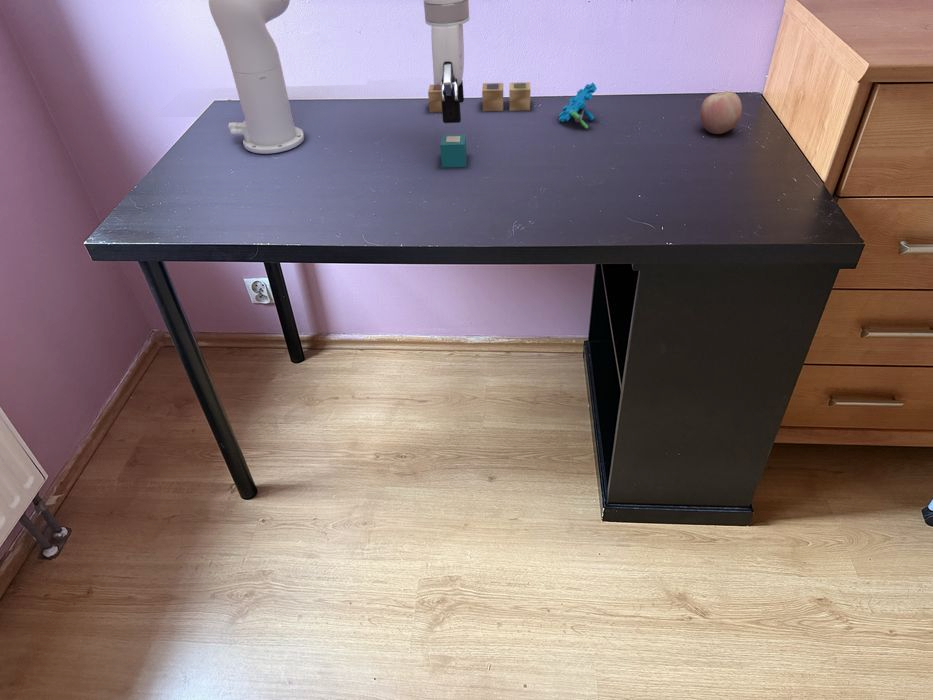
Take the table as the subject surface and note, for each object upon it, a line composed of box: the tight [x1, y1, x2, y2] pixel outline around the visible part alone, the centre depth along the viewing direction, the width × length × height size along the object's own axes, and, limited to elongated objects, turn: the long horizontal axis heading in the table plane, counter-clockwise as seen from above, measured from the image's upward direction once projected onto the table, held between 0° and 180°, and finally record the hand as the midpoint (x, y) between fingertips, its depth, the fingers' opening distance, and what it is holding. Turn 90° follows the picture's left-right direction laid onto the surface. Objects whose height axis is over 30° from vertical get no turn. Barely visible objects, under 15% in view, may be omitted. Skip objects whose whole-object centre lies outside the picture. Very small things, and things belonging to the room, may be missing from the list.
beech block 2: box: [481, 82, 504, 112], centre depth 148 cm, size 5×5×5 cm
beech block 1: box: [427, 83, 442, 113], centre depth 149 cm, size 5×5×5 cm
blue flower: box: [558, 82, 598, 130], centre depth 140 cm, size 11×6×10 cm
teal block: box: [439, 133, 468, 168], centre depth 127 cm, size 5×5×5 cm
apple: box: [699, 90, 743, 135], centre depth 132 cm, size 8×8×8 cm
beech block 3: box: [508, 81, 531, 112], centre depth 147 cm, size 5×5×5 cm
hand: (453, 112), depth 122 cm, fingers open, 9 cm apart
